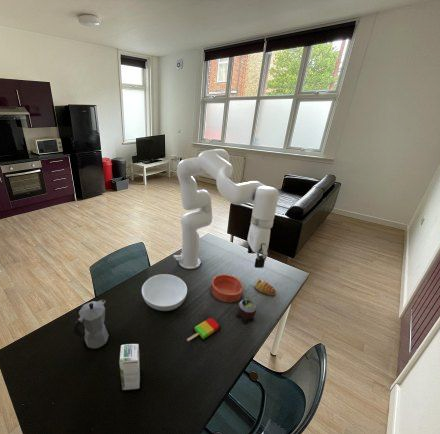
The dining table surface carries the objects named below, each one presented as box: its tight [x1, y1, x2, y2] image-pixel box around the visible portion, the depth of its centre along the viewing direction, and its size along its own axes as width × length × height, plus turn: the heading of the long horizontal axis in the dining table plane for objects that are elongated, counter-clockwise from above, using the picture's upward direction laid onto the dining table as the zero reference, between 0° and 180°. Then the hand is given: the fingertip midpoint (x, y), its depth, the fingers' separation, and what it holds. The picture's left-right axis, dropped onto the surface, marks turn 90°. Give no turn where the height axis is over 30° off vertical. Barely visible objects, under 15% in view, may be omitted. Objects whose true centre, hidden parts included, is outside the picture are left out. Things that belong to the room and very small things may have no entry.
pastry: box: [254, 278, 277, 296], centre depth 117 cm, size 9×7×4 cm
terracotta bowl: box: [210, 273, 244, 304], centre depth 116 cm, size 15×15×5 cm
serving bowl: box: [141, 273, 188, 312], centre depth 111 cm, size 21×21×7 cm
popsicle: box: [186, 317, 220, 342], centre depth 96 cm, size 6×15×2 cm, turn 123°
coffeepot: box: [71, 299, 110, 349], centre depth 89 cm, size 15×9×18 cm, turn 147°
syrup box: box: [119, 343, 141, 391], centre depth 76 cm, size 6×6×14 cm
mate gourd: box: [237, 283, 257, 324], centre depth 100 cm, size 8×8×15 cm
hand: (255, 259), depth 94 cm, fingers open, 9 cm apart
